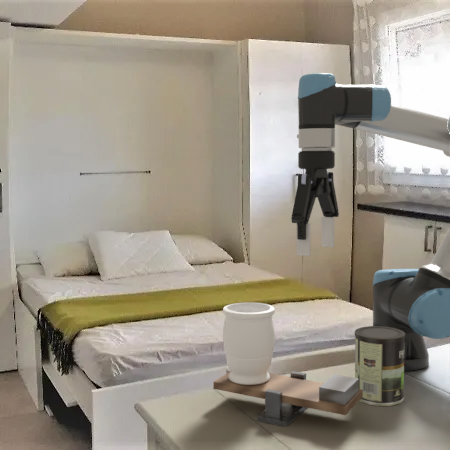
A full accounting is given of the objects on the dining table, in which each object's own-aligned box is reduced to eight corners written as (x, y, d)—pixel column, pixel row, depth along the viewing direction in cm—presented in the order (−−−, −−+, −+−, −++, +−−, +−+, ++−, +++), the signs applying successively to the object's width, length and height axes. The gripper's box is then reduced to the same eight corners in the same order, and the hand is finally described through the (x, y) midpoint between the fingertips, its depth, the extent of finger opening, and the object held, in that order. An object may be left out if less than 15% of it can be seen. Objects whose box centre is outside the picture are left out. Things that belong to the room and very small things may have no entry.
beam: (213, 388, 132) (213, 369, 132) (237, 374, 141) (237, 356, 140) (345, 415, 118) (345, 394, 118) (362, 397, 127) (362, 377, 126)
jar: (267, 368, 139) (266, 300, 138) (281, 385, 129) (281, 311, 128) (218, 372, 137) (218, 303, 136) (229, 389, 127) (228, 315, 126)
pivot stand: (257, 420, 125) (257, 390, 125) (287, 396, 137) (287, 369, 137) (285, 426, 122) (285, 396, 122) (313, 401, 134) (313, 373, 134)
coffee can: (402, 389, 141) (403, 326, 139) (405, 408, 131) (407, 340, 129) (354, 387, 143) (354, 324, 141) (353, 404, 133) (354, 337, 131)
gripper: (321, 150, 147) (321, 242, 150) (274, 150, 126) (274, 258, 128) (353, 149, 144) (352, 244, 146) (310, 149, 122) (310, 260, 125)
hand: (316, 251), depth 137 cm, fingers open, 13 cm apart
